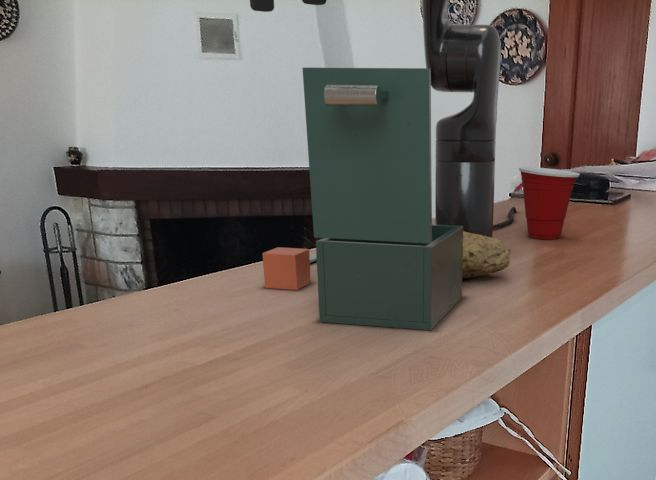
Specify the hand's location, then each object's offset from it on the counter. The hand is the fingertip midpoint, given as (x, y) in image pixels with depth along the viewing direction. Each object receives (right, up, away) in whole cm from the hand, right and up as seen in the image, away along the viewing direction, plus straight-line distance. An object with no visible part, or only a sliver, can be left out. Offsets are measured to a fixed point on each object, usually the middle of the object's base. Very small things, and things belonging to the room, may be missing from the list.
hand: (287, 7), depth 72 cm
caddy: (+8, -25, +20) cm, 33 cm away
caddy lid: (+7, -12, +6) cm, 15 cm away
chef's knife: (-6, -15, +46) cm, 49 cm away
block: (-6, -21, +30) cm, 37 cm away
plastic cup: (+32, -6, +70) cm, 78 cm away
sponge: (+13, -19, +37) cm, 43 cm away
